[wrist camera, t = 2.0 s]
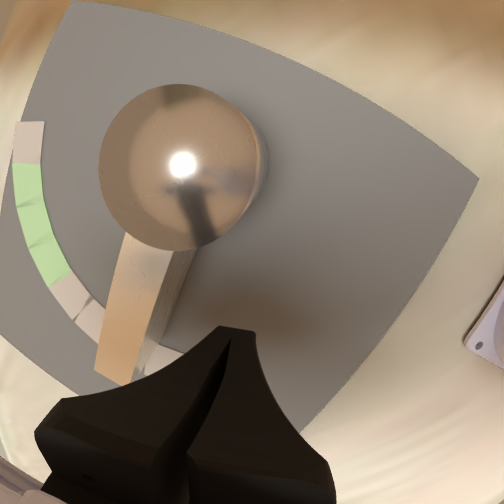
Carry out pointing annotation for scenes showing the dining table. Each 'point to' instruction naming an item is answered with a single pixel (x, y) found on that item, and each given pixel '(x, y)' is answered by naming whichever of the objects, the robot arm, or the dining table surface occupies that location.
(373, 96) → the dining table surface
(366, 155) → the tuner board
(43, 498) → the robot arm
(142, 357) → the tuning dial
